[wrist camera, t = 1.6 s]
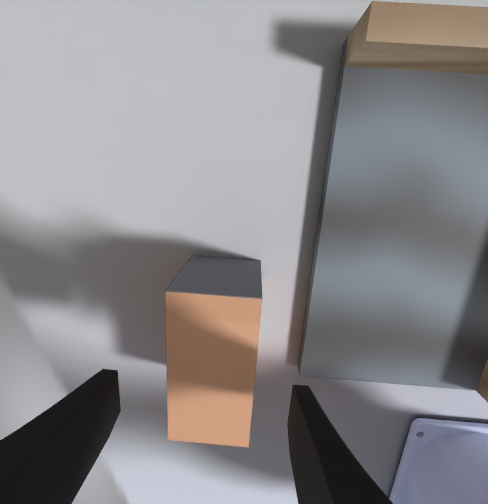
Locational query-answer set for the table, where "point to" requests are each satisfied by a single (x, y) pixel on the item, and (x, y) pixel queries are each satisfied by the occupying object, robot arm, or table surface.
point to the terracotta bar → (212, 349)
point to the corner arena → (405, 205)
